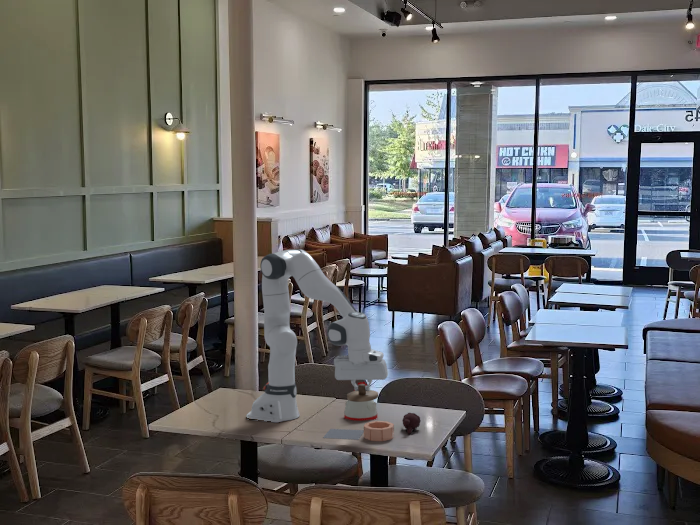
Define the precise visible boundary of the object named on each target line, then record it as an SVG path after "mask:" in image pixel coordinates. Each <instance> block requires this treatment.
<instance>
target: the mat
mask: <svg viewBox="0 0 700 525" xmlns="http://www.w3.org/2000/svg"><path fill="white" fill-rule="evenodd" d="M363 435H364V429H363V430H362V429H347V428H342V429H341V428H330V429H329V430H328V431H327V432H326V433H325V434H324V436H323V437H322V439H339V440H354V441H355V440H357V441H358V440H360V439H361V436H363Z"/></svg>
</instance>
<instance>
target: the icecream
mask: <svg viewBox="0 0 700 525" xmlns="http://www.w3.org/2000/svg"><path fill="white" fill-rule="evenodd" d="M420 425H421V417H420V415H417V413H414V412H407V413H406V414H404V415H403V418H402V426H403V427H404V428H405V429H406V430H407V431H406V432H407V435H411V434H412V432H413V430H416V429H417V428H419V427H420Z"/></svg>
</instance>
